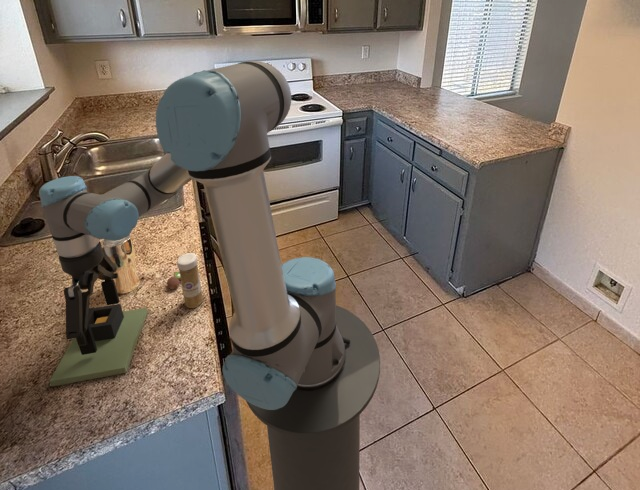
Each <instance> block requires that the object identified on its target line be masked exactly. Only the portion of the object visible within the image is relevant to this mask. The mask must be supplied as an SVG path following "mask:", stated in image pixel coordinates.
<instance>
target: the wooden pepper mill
mask: <svg viewBox="0 0 640 490" xmlns="http://www.w3.org/2000/svg"><path fill="white" fill-rule="evenodd" d="M101 246H102V248H104V250H105V252H106V255H107V256H108V257H109V258H110V260H111V261H112V262H113V263H114V265H115V266H116V267H117V270H116V272H114V274H115V273H118V278H115V279H114V281H115V285H116V289H117V293H118V295H119V294H120V295H124V294H128V293H130V292H133V291H135V290H136V289H137V288H138V287H139V285H140V284H141V280H140V277H139V275H138V274H137V273H138V272H137V269H136V250H135V246H134V242H133V240H132V236H131V233H130V234H129V235H128V236H127V237H125V238H123V239H121V240H116V241H112V240H106V239H102V241H101Z"/></svg>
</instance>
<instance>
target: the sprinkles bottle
mask: <svg viewBox="0 0 640 490" xmlns="http://www.w3.org/2000/svg"><path fill="white" fill-rule="evenodd" d="M176 265H177V269H178V272H180V277H181V280H180V283H181V290H182V294H183V299H184V306H185V307H186V308H188V309H193V308H197V307H199V306H200V305H201V304H202V303H203V302H204V296H203V291H202V284H201V278H200V277H201V276H200V272H199V268H198V257H197V255H196V253H194V252H187V253H183V254H182V255H180V256H178V258H177V260H176Z"/></svg>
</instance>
